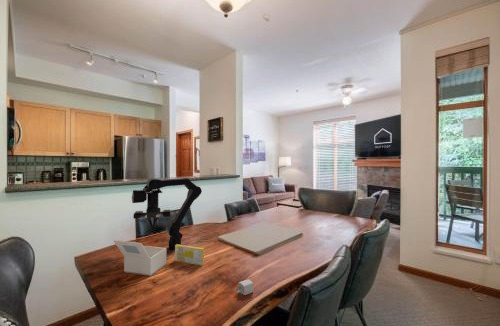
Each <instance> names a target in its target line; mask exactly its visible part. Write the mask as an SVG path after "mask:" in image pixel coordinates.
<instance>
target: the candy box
mask: <svg viewBox="0 0 500 326" xmlns="http://www.w3.org/2000/svg"><path fill="white" fill-rule="evenodd" d="M204 256H205V248H204V247H198V246H192V245H191V246H190V245H184V244H181V245H178V244H177V245H175V249H174V262H179V263H184V264H189V265H196V266H201V267H202V266H204V263H205V257H204Z"/></svg>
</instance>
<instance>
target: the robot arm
mask: <svg viewBox="0 0 500 326" xmlns="http://www.w3.org/2000/svg"><path fill="white" fill-rule="evenodd" d="M174 186H175V187H176V186H184V187H186V189H187V190H188V191H187V194H186V198H185V200H184V202H183V203H182V205H181V206H180V209H179V210H178V212H177V214H176V215H175V217H174V218H173V220H168V223H167V224H166V225H165V232H166V233H167V235H168V236H169V239H168V249H169V250H170V251H171V250H172V251H173V250H174V251H175V245H177V244H178V245H182V238H183V236H184V234H183V233H181V232H180V230H181V226H182V223H183V220H184V219H185V217H186V215H187V214H188V211H189V210H190V208H191V206H192V205H193V203H194V201H195V200H197V199H198V198H199V197H200V195H202V188H201V187H200V186H197V185H196V184H195V183H194V182H192V181H191V180H190V179H189V178H187V177H183V178H170V179H160V178H149V179H148V180H147V181H146V185H145V186H144V187H143V189H138V190H137V189H133V190H132V193H131V203H132V204H139V203H145V201H146V202H147V205H146V207H147V208H146V211H145V212H144V211H143V210H137V211H135V212H134V213H133V219H135V220H136V219H141V218H142V217H144V219H145V220H147V222H148V223H149V225H150V228H151V230H154V228H155V226H156V223H157V221H158V220H160V218H161V216H162V217H164V218H167V217H169V218H170V217H171V215H172V209H163V211H161V207H159V194H162V193H163V191H162V190H161V189H163V188H165V187H174Z"/></svg>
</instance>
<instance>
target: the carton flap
mask: <svg viewBox="0 0 500 326" xmlns="http://www.w3.org/2000/svg"><path fill="white" fill-rule="evenodd" d="M112 241H113V242H114V244H115V245H116V246H117V249H118V250H119V251H120V253H121V254H122V255H123V257H124V256H129V257H137V258H145V259H150V257H149V255H148V253H147V252H146V250H145V249H144V247H143V246H144V245H143V244H142V242H135V241H127V240H116V239H113V240H112Z"/></svg>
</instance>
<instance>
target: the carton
mask: <svg viewBox="0 0 500 326" xmlns="http://www.w3.org/2000/svg"><path fill="white" fill-rule="evenodd" d="M143 247H144V249H145V250H146V252H147V253H148V255H149V257H150V259H145V258H137V257H129V256H124V255H123V264H124V265H123V272H124V273H127V274H135V275H141V276H142V275H143V276H148V277H151V276H153V275H154V274H156V272H158V271H159V270H160V269H162V268H164V267H165V266H166V265H167V248H166V247H161V246H160V247H158V246H151V245H143Z"/></svg>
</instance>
